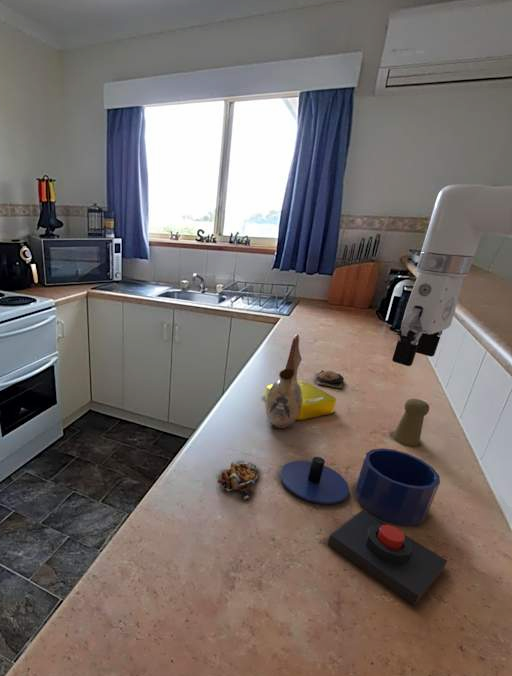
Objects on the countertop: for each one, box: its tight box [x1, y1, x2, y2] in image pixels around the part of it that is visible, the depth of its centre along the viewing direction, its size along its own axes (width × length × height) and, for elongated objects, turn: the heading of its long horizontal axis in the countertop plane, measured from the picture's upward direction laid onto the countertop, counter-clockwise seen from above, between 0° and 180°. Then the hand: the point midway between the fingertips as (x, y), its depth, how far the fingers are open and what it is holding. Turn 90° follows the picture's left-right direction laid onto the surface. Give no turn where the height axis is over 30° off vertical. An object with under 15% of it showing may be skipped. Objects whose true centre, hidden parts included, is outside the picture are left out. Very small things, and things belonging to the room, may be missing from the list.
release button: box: [377, 524, 405, 550], centre depth 65 cm, size 4×4×2 cm
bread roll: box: [316, 370, 345, 389], centre depth 134 cm, size 11×8×4 cm
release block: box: [327, 509, 448, 607], centre depth 66 cm, size 14×11×4 cm
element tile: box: [264, 379, 337, 421], centre depth 116 cm, size 15×15×5 cm
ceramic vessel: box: [264, 334, 303, 429], centre depth 101 cm, size 16×9×25 cm, turn 154°
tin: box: [354, 447, 441, 527], centre depth 78 cm, size 13×13×8 cm
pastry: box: [216, 460, 260, 501], centre depth 83 cm, size 7×12×4 cm, turn 153°
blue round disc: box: [279, 456, 350, 505], centre depth 82 cm, size 14×14×6 cm
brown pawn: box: [392, 398, 430, 447], centre depth 100 cm, size 6×6×11 cm
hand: (413, 358), depth 74 cm, fingers open, 9 cm apart
